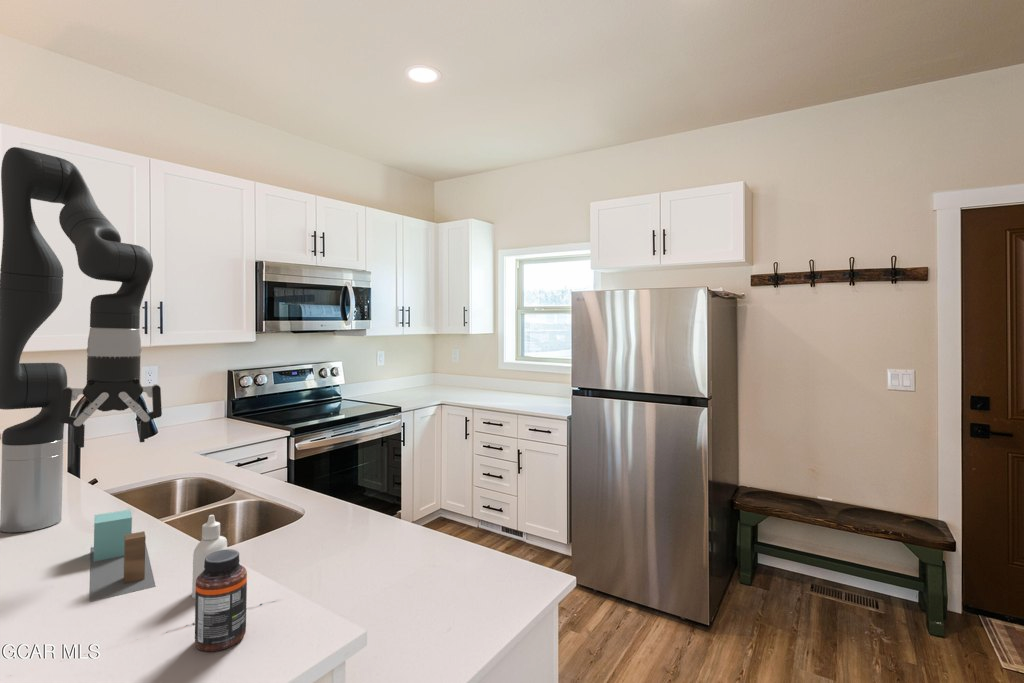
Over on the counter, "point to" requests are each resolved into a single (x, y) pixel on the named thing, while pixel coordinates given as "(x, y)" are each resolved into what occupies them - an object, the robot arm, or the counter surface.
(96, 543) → the teal rectangular block
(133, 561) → the post
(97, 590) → the mat
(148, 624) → the counter surface
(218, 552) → the supplement bottle
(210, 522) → the eye dropper bottle
